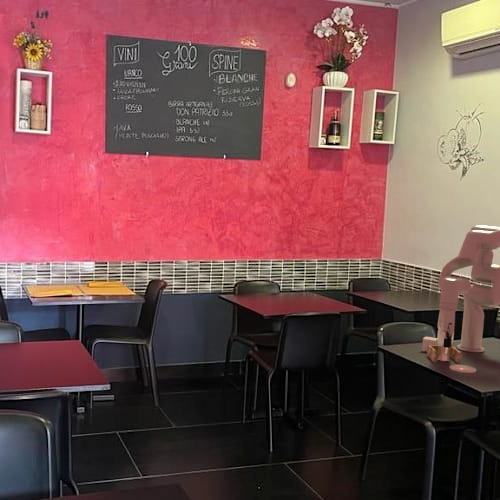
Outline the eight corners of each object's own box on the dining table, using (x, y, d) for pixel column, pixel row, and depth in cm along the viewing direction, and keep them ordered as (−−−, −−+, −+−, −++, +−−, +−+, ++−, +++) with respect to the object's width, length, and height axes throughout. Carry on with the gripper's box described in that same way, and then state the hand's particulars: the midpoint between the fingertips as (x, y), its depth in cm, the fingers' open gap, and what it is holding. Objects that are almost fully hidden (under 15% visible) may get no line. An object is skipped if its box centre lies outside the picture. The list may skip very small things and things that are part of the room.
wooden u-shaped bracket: (427, 355, 313) (428, 345, 312) (452, 357, 313) (453, 346, 312) (434, 362, 301) (435, 351, 300) (460, 364, 301) (461, 352, 301)
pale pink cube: (434, 353, 319) (435, 340, 318) (421, 351, 321) (422, 338, 321) (437, 350, 324) (438, 338, 324) (424, 348, 327) (425, 336, 326)
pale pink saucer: (446, 365, 297) (446, 363, 297) (471, 366, 297) (471, 365, 297) (453, 372, 286) (453, 370, 286) (479, 373, 286) (480, 372, 286)
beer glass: (452, 362, 303) (455, 329, 301) (435, 360, 304) (438, 327, 302) (450, 358, 310) (453, 326, 308) (434, 357, 311) (437, 324, 309)
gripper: (434, 302, 313) (431, 340, 315) (445, 309, 296) (441, 349, 297) (451, 303, 313) (447, 341, 315) (462, 310, 296) (459, 350, 298)
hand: (444, 345), depth 306 cm, fingers closed on beer glass, 6 cm apart
